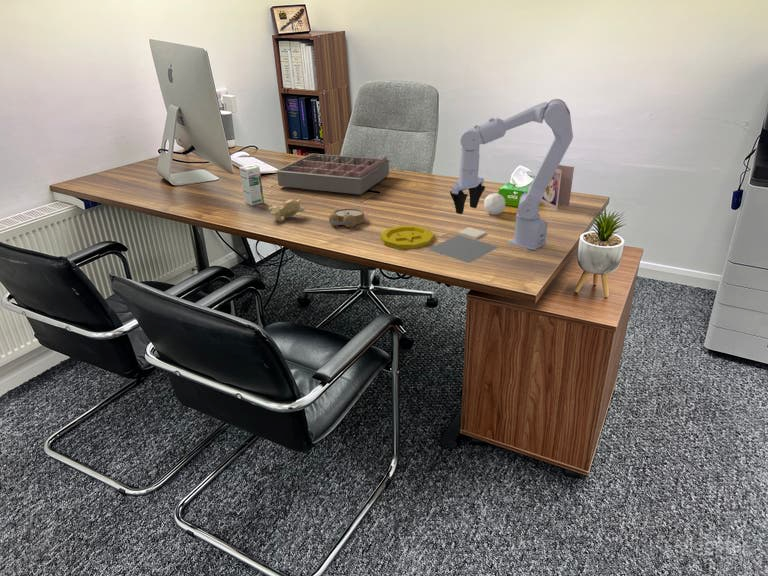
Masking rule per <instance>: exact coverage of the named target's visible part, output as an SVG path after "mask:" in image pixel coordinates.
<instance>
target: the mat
mask: <svg viewBox="0 0 768 576" xmlns="http://www.w3.org/2000/svg"><path fill="white" fill-rule="evenodd" d="M498 248H499V246H497V245H493V244H490V243H487V242H484V241H479V240H476V239H474V238H471V237H467V236H464V235H460V234H456V235H455V236H452V237H450V238H448V239H446V240H445V241H442V242H440V243H438V244H436V245H434V246H432V247H429V248H428V249H427V251H432V252H434V253H436V254H437V253H438V254H440V255H444V256H445V257H449V258H453V259H456V260H459V261H462V262H465V263H467V264H471V263H473V262H474V261H476V260H478V259H480V258H482V257H483V256H486V255H487V254H489V253H490V252H492V251H494V250H496V249H498Z"/></svg>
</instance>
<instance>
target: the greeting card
mask: <svg viewBox="0 0 768 576" xmlns="http://www.w3.org/2000/svg"><path fill="white" fill-rule="evenodd" d="M574 169H575V166H571V165H570V166H569V165H562V164H559V166H558V167H557V169H556V171H555V173H554V175H553V177H552V179H551V181H550V183H549V185H548V186H547V188H546V190H545V192H544V195H543V197H542V200H541V202H540V203H542V202H543V203H542V204H544V203H545V204H544V205H546V204H547V205H546V206H548V205H549V206H551V207H553V208H554V209H553V208H552V209H553V210H555V209H556V210H555V211H557V210H558V206H562V205H565V206H564V207H568V206H569V207H570V201H571V193H572V188H573V187H572V186H573V185H572V184H573V179H574ZM558 204H560V205H558ZM549 206H548V207H549ZM551 207H550V208H551Z"/></svg>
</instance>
